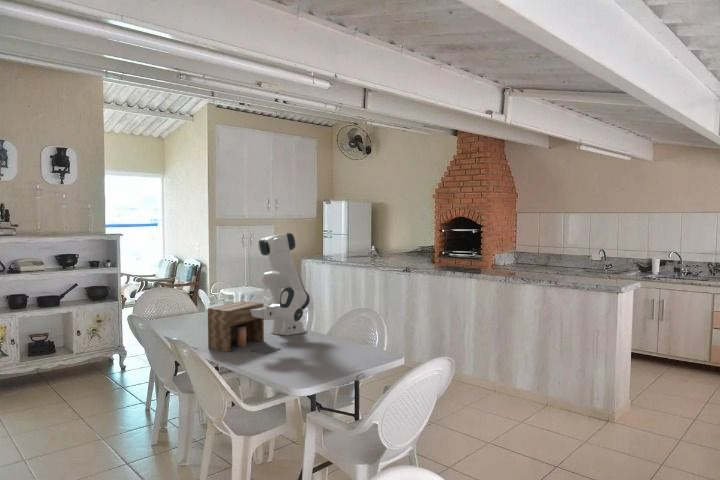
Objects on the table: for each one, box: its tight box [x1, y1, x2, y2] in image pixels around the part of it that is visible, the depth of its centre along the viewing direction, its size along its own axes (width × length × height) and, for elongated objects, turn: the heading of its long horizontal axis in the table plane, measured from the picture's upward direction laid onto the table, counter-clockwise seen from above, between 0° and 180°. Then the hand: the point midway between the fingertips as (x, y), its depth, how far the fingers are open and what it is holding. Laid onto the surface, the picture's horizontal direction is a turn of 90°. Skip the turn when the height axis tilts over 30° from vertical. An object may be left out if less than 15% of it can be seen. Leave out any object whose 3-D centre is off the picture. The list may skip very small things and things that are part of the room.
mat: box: [249, 345, 282, 355], centre depth 286 cm, size 12×12×1 cm
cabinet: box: [207, 300, 265, 353], centre depth 296 cm, size 16×28×22 cm, turn 149°
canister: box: [236, 325, 247, 347], centre depth 295 cm, size 5×5×11 cm
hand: (257, 309), depth 287 cm, fingers open, 8 cm apart
